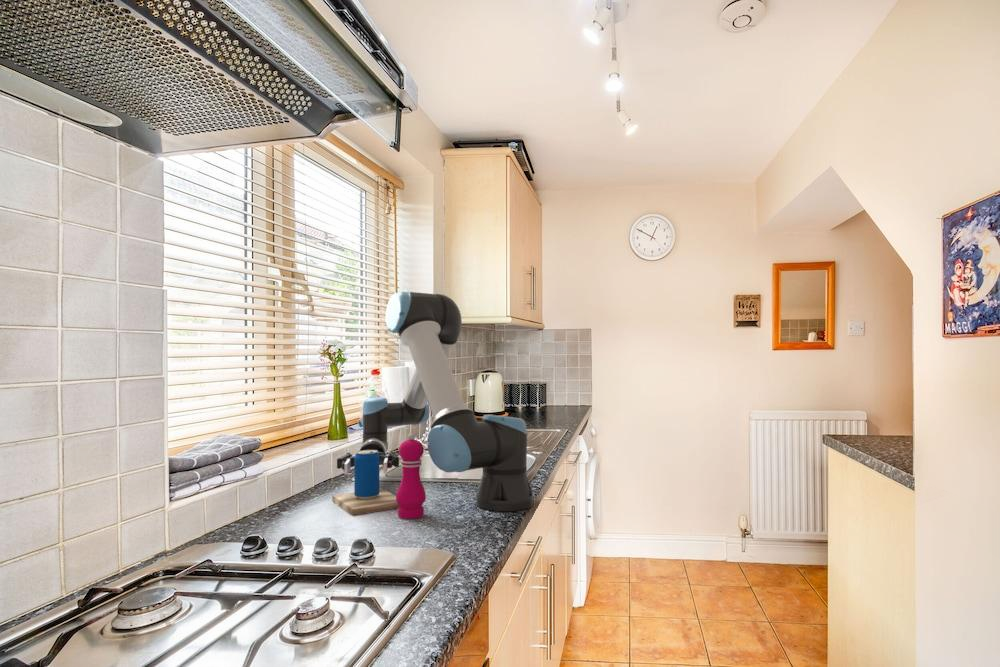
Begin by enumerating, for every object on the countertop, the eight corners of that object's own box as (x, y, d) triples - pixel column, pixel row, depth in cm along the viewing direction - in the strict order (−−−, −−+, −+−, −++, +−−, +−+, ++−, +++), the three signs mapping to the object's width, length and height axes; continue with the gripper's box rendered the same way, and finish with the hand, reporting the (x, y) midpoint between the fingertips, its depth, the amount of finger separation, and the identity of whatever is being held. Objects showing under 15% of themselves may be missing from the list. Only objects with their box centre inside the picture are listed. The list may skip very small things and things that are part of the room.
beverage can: (384, 496, 148) (384, 451, 149) (363, 501, 144) (363, 454, 144) (370, 492, 153) (370, 448, 153) (349, 497, 148) (349, 451, 148)
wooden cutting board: (405, 506, 144) (405, 500, 144) (352, 515, 137) (352, 509, 137) (381, 493, 158) (382, 488, 158) (332, 501, 150) (332, 495, 150)
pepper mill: (419, 520, 132) (420, 435, 133) (391, 518, 134) (391, 435, 134) (429, 512, 139) (430, 431, 140) (402, 510, 141) (402, 431, 142)
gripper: (409, 464, 168) (408, 481, 145) (334, 467, 164) (321, 484, 142) (409, 439, 168) (408, 452, 146) (334, 441, 165) (321, 454, 142)
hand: (365, 468), depth 144 cm, fingers open, 9 cm apart
